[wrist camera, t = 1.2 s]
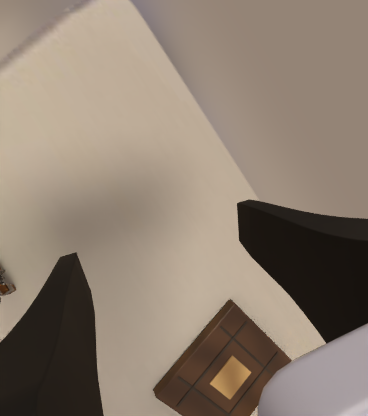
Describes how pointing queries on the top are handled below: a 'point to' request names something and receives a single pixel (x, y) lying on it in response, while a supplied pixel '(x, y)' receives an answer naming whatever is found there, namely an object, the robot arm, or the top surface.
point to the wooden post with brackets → (5, 286)
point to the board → (222, 368)
